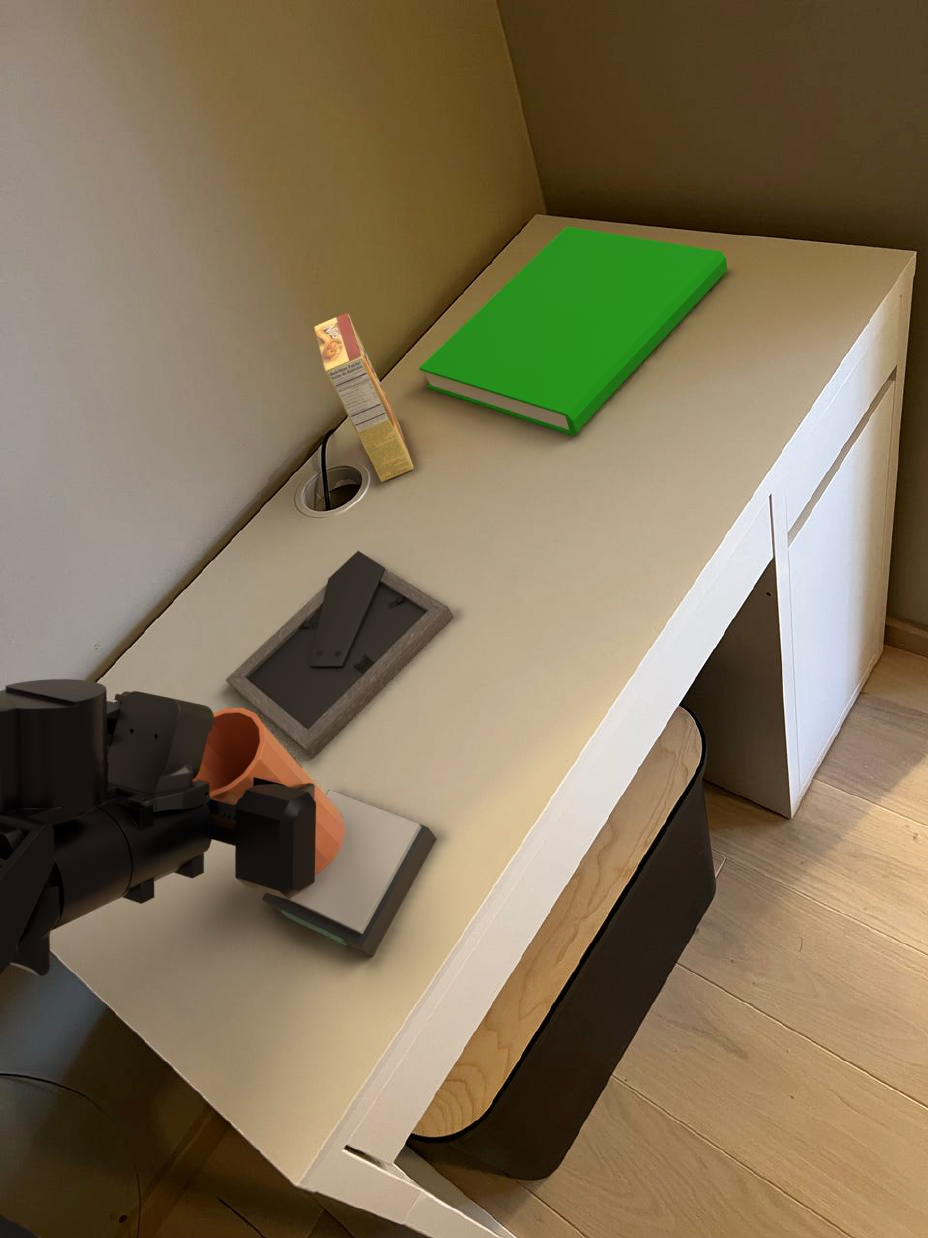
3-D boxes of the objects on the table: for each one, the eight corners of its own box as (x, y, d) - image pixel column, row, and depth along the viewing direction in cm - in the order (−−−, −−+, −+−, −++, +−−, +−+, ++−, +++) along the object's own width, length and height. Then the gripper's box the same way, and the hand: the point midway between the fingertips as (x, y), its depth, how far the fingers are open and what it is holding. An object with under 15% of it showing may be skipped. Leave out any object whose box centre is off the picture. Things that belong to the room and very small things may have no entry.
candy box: (367, 438, 110) (310, 326, 99) (401, 423, 110) (347, 309, 99) (381, 484, 104) (322, 371, 93) (417, 468, 104) (362, 354, 93)
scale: (371, 959, 71) (357, 947, 69) (271, 911, 76) (256, 898, 74) (436, 838, 75) (425, 823, 73) (338, 800, 80) (325, 785, 78)
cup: (266, 894, 71) (171, 812, 62) (260, 817, 76) (171, 729, 66) (350, 863, 71) (268, 774, 61) (339, 787, 75) (261, 693, 66)
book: (427, 388, 112) (418, 367, 110) (572, 247, 121) (566, 226, 119) (577, 437, 99) (571, 415, 97) (728, 275, 108) (725, 251, 106)
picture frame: (365, 563, 97) (233, 689, 92) (358, 550, 96) (223, 677, 91) (453, 617, 89) (313, 758, 84) (446, 603, 88) (303, 746, 82)
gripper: (221, 746, 50) (385, 690, 63) (-14, 693, 58) (175, 653, 72) (221, 947, 52) (380, 850, 65) (-8, 866, 60) (176, 796, 74)
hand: (272, 780), depth 69 cm, fingers closed on cup, 7 cm apart
